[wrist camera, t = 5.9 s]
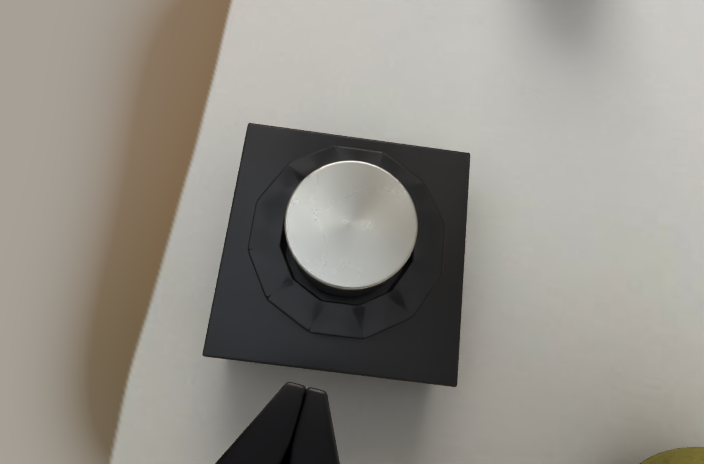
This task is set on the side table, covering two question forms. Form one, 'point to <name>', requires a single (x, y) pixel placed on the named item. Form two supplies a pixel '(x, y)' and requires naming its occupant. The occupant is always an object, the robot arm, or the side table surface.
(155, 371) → the side table surface
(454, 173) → the hob block
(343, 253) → the hob knob
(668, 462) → the apple
